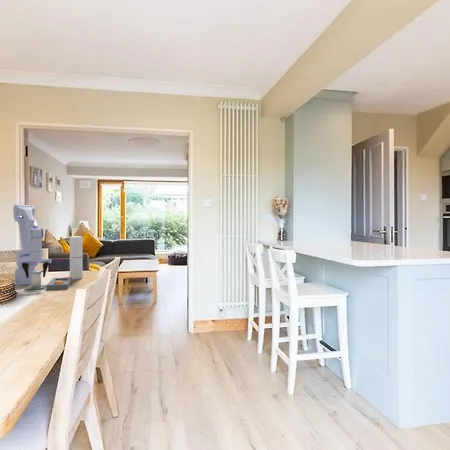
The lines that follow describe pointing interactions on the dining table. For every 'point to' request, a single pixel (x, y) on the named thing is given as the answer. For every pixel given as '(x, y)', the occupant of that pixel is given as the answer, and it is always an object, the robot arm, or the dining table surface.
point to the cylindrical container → (76, 257)
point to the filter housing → (65, 284)
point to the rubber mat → (35, 288)
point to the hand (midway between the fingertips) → (35, 277)
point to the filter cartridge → (36, 279)
